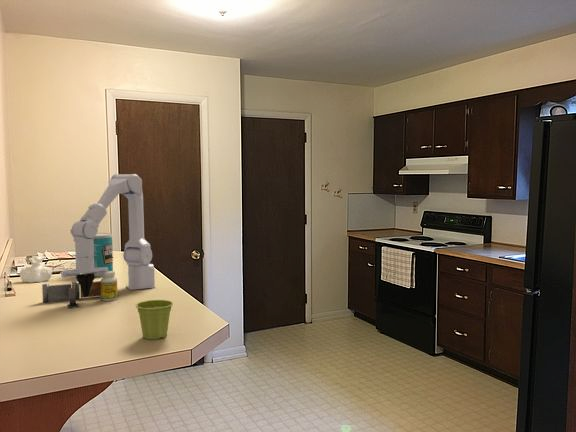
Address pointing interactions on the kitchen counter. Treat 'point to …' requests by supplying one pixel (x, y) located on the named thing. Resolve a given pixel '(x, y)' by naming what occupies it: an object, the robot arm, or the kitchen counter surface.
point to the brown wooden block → (93, 290)
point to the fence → (59, 292)
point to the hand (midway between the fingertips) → (85, 296)
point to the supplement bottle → (108, 286)
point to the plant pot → (154, 318)
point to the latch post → (72, 299)
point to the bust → (35, 271)
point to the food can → (103, 252)
